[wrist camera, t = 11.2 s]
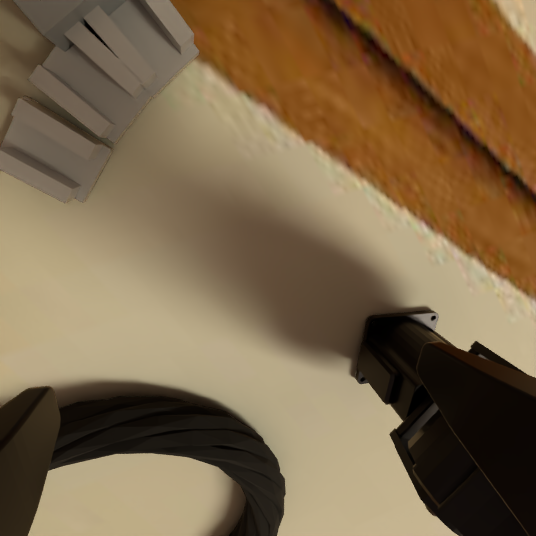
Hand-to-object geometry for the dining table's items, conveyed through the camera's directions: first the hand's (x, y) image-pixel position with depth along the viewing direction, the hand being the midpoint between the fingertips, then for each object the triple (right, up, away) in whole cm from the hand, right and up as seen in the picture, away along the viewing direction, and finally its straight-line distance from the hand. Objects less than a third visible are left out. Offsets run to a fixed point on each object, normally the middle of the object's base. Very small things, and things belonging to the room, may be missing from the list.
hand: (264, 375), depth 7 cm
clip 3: (-6, +14, +7) cm, 17 cm away
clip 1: (-11, +8, +8) cm, 16 cm away
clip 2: (-8, +11, +8) cm, 16 cm away
